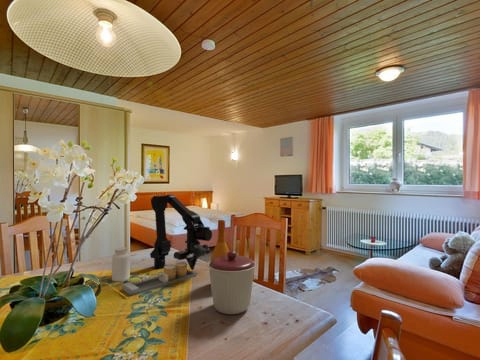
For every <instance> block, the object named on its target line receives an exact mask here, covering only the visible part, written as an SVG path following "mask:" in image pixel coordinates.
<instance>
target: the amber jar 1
mask: <svg viewBox="0 0 480 360" xmlns="http://www.w3.org/2000/svg"><path fill="white" fill-rule="evenodd" d="M163 273H165V274H167V275H168V281H171V280H175V279H176V266H175V264H172V263H171V264H165V266H164V268H163Z"/></svg>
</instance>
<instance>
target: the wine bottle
mask: <svg viewBox="0 0 480 360" xmlns="http://www.w3.org/2000/svg"><path fill="white" fill-rule="evenodd" d="M217 230H218V234H217V235H218V236H217V241H216V244H215V246H214V249H213V252H212V254H211V258H210V261H211V260H213V259H214V258H217V257H220V256H227V253H228V252H229V251H230V249H229V246H228V245H227V243H226V242H227V241H226V236H225V231H226V220H225V219H219V220H217Z"/></svg>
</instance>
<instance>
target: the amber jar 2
mask: <svg viewBox="0 0 480 360" xmlns="http://www.w3.org/2000/svg"><path fill="white" fill-rule="evenodd" d="M174 265H175V266H176V278H177V279H178V278H181V277H185V276H187V270H188V262H187V261H178V262H175V264H174Z"/></svg>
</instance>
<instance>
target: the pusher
mask: <svg viewBox="0 0 480 360" xmlns="http://www.w3.org/2000/svg"><path fill="white" fill-rule="evenodd" d="M155 278H159V280H160V281H162V282H164V283H165V282H168V275H167V274H165V273H164V271H159V272H158V275H154V276H150V277H147V278H143V279H141V281H140V282H144V281H148V280H152V279H155Z"/></svg>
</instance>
